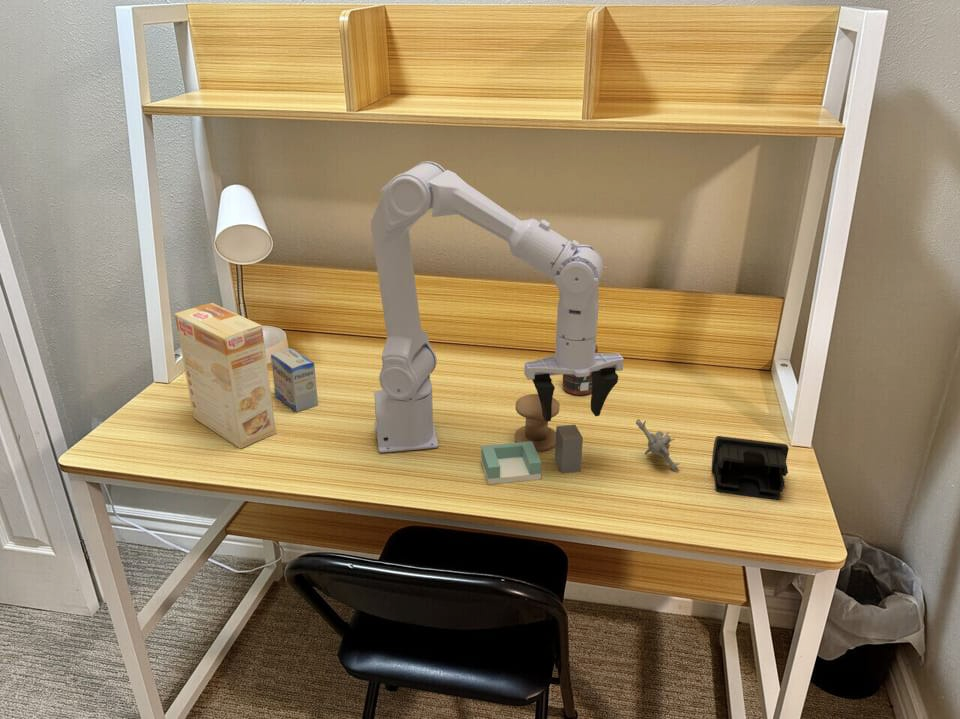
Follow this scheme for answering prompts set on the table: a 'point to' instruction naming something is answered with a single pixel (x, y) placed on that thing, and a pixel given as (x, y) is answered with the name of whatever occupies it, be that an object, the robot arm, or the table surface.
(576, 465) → the plug
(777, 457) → the end cap
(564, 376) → the supplement bottle
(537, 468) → the notch board
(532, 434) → the bobbin
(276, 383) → the medicine box
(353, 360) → the table surface
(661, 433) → the grey animal figure
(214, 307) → the coffeecake box
